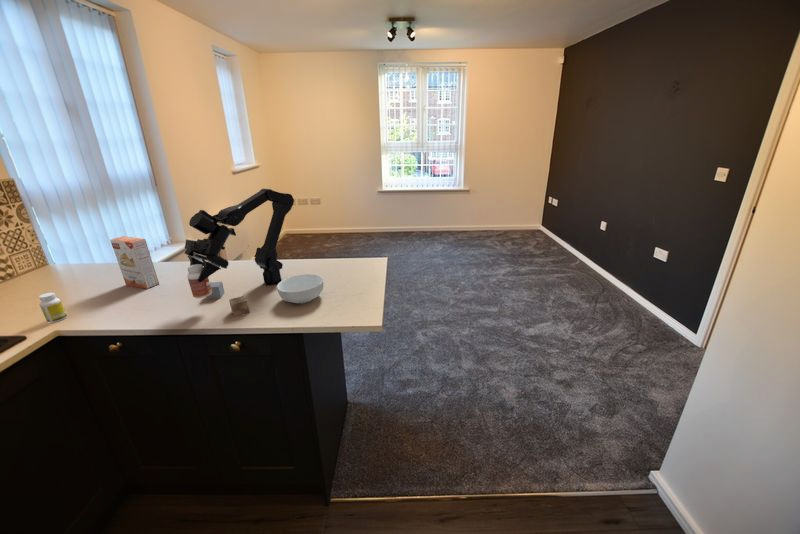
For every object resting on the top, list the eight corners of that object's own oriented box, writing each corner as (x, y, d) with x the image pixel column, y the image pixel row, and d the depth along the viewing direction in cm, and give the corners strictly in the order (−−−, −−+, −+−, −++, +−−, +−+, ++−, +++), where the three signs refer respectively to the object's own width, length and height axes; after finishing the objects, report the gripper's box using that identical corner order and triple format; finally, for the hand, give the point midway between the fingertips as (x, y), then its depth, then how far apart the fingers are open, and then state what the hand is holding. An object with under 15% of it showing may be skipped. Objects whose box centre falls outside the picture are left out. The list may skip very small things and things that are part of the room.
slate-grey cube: (224, 292, 144) (222, 281, 142) (221, 298, 139) (218, 286, 137) (211, 294, 143) (208, 282, 141) (207, 299, 138) (204, 287, 137)
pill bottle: (213, 295, 126) (205, 266, 122) (194, 300, 123) (185, 271, 119) (211, 289, 131) (203, 261, 127) (192, 294, 128) (184, 266, 124)
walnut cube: (246, 307, 131) (243, 295, 129) (249, 313, 127) (247, 300, 125) (231, 311, 128) (229, 299, 126) (234, 317, 124) (231, 304, 122)
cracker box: (124, 285, 154) (108, 239, 146) (138, 280, 159) (124, 235, 152) (146, 289, 149) (130, 242, 141) (160, 284, 154) (145, 238, 146)
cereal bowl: (310, 286, 147) (308, 270, 144) (333, 298, 136) (331, 281, 133) (271, 299, 136) (268, 283, 133) (293, 314, 125) (290, 296, 122)
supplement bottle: (71, 315, 130) (61, 290, 126) (59, 322, 125) (49, 297, 121) (55, 316, 129) (44, 292, 125) (43, 324, 124) (31, 298, 120)
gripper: (182, 226, 126) (159, 265, 122) (211, 232, 116) (187, 275, 112) (209, 241, 135) (188, 277, 131) (238, 248, 125) (216, 288, 121)
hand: (194, 279), depth 124 cm, fingers closed on pill bottle, 6 cm apart
